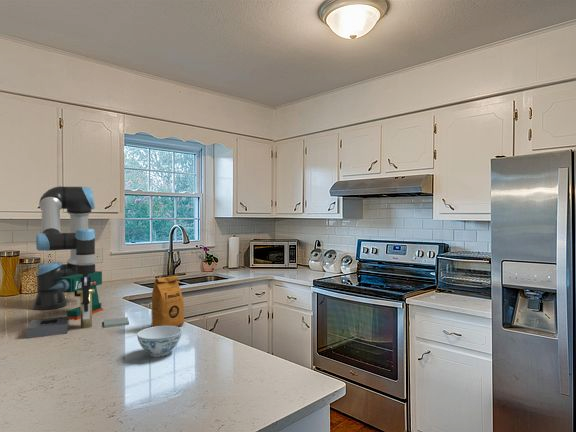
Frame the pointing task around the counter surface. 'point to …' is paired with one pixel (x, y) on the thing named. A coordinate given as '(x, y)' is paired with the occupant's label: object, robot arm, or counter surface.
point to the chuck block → (48, 327)
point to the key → (84, 322)
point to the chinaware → (159, 339)
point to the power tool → (74, 284)
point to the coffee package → (167, 303)
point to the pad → (116, 322)
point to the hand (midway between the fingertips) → (86, 317)
